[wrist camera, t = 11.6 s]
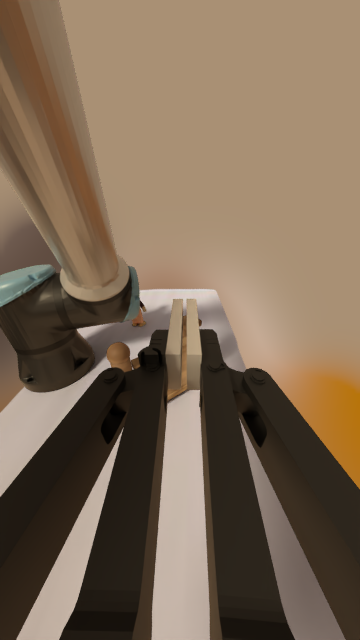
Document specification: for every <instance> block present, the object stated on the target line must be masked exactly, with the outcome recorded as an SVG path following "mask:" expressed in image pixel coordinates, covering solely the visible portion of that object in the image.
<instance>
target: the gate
mask: <svg viewBox="0 0 360 640" xmlns="http://www.w3.org/2000/svg"><path fill="white" fill-rule="evenodd" d="M131 364H132V367H133V369H137V368H139V367H140V364H139V359H138V358H135V359H133V360H131ZM185 390H187V337H184V338H183V344H182V378H181V390H173V389H168V391H167V394H168V400H170V399H171V398H173V397H175V396H177V395H178V394H180V393H182V392H183V391H185Z"/></svg>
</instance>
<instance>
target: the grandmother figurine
mask: <svg viewBox="0 0 360 640" xmlns="http://www.w3.org/2000/svg"><path fill="white" fill-rule="evenodd" d="M140 307H141V308H142V309H143V312H146V309H145V307H144V304H143V303H142V302H141V301H140ZM132 322H133V324H132V326H137V325H138V323H139V326H143V325H145V324H146V322H145V321H143V317H142V313H141V309H140V310H139V314H138V316H137V317H136V318H135V319H132Z"/></svg>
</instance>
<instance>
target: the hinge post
mask: <svg viewBox="0 0 360 640" xmlns="http://www.w3.org/2000/svg"><path fill="white" fill-rule="evenodd" d="M129 356H130V350H129V348H128V346H127V345H126V344H124V343H121V342H117V343H114V344H112V345H111V346H110V347H109V348H108V350H107V359H108V360H109V362H110V363H111V367H118V368H120V369H122V370H123V371H124V372H127V371H131V370H132V366H131V361H130V357H129Z"/></svg>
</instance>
